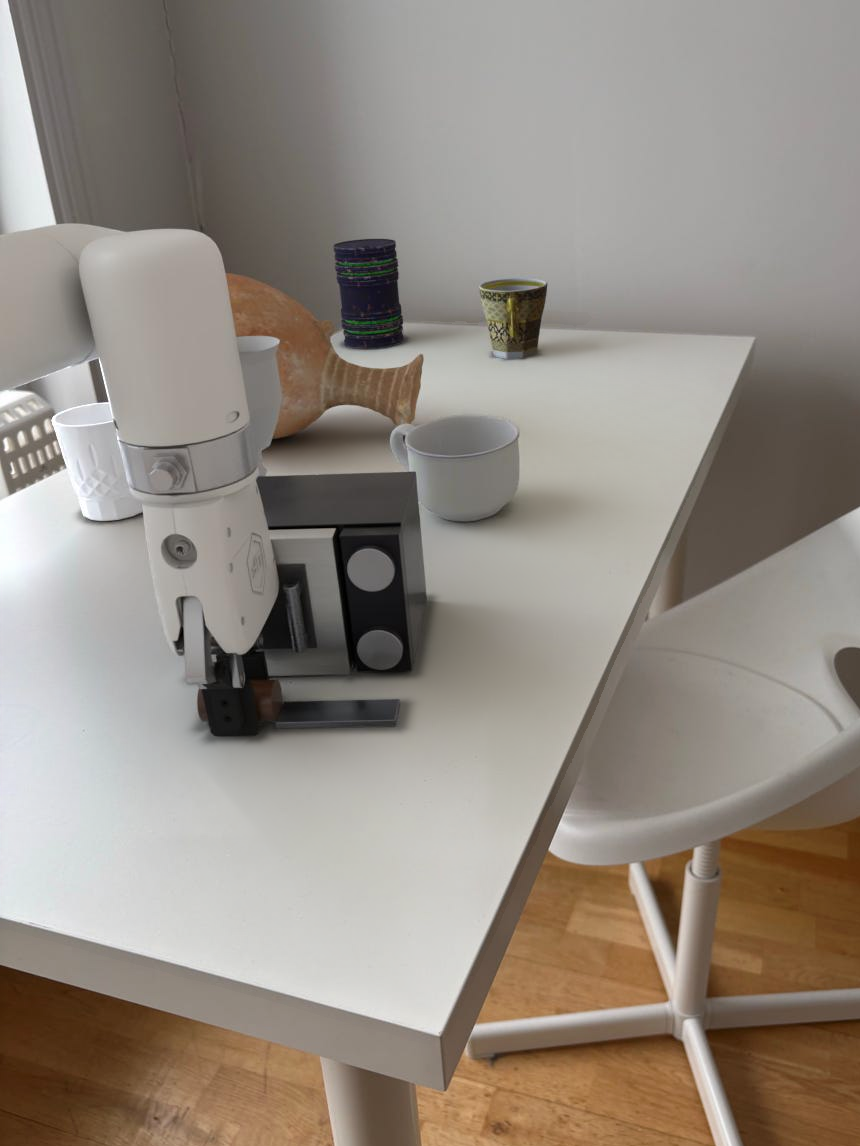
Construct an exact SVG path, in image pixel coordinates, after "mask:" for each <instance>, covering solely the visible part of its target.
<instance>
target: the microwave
mask: <svg viewBox="0 0 860 1146" xmlns="http://www.w3.org/2000/svg"><path fill="white" fill-rule="evenodd" d="M416 481H417V479H416V472H415V471H413V472H409V471H388V472H387V471H385V472H383V471H381V472H357V473H355V472H354V473H325V474H324V473H323V474H319V473H318V474H295V475H294V474H293V475H290V474H289V475H266V476H258V477H257V479H256V483H257V486H258V489H259V493H260V497H261V500H262V504H263V508H264V513H265V517H266V521H267V526H268V530H289V529H324V528H336V530H337V538H338V546H339V553H340V561H341V569H342V576H343V584H344V592H345V600H346V607H347V615H348V623H349V631H350V638H351V646H352V654H353V662H354V664H355V670H356V672H357V673H361V672H362V673H363V672H365V673H366V672H368V673H369V672H411V671H413V666H414V662H415V659H416V655H417V650H418V645H419V639H420V634H421V630H422V624H423V619H424V616H425V615H424V614H425V610H426V606H427V601H428V599H427V586H426V575H425V574H426V573H425V563H424V551H423V550H424V549H423V539H422V527H421V516H420V502H419V501H418V491H417V482H416Z"/></svg>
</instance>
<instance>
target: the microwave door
mask: <svg viewBox="0 0 860 1146" xmlns="http://www.w3.org/2000/svg"><path fill="white" fill-rule="evenodd" d="M269 535H270V539H271V544H272V549H273V553H274V558H275V563H276V568H277V573H278V578H279V591H278V595H277V598H276V600H275V603H274V605H273V607H272V609H271V612H270V614H269V616H268V618H267V620H266V622H265V624H264V626H263V628H262V630H261V631H262V636H263V647H262V649H261V650H256V652H262V651H264V653H265V658H266V664H267V669H268V675H269V677H285V676H288V677H289V676H291V677H293V676H337V675H338V676H339V675H340V676H342V675H343V676H345V675H346V676H347V675H351V673H352V670H353V667H354V664H355V663H354V662H353V654H352V646H351V638H350V631H349V623H348V615H347V607H346V600H345V592H344V584H343V576H342V569H341V561H340V553H339V546H338V538H337V530H336V528H324V529H289V530H269ZM211 639H215V638H214V637H211ZM216 655H217V654H215V655H211V658H212V661H213V662H217V660H216Z"/></svg>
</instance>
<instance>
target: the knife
mask: <svg viewBox="0 0 860 1146" xmlns="http://www.w3.org/2000/svg"><path fill="white" fill-rule="evenodd" d="M251 681H252V686H253V691H254V696H255V701H256V707H257V712H258V717H259V722H260V723H264V722H265V723H267V722H275V728H276V729H313V728H314V729H317V728H367V727H369V728H370V727H376V728H377V727H396V726H397V722H398V717H399V712H400V708H401V700H400V698H392V699H391V698H390V699H389V698H388V699H387V698H385V699H383V698H381V699H341V700H338V699H336V700H334V699H333V700H296V701H295V700H294V701H291V700H290V701H288V700H287V701H283V700H284V699H283V697H284V696H283V689H282V685H281V683H280V680H279V679H269V680H251ZM196 696H197V697H196V706H197V707H196V708H197V714H198V717H199V719H200V721H201V722H202V723H204V724H209V722H208V717H207V713H206V708H205V704H204V699H203V695H202V690H201V689H199V688H198V691H197V695H196Z"/></svg>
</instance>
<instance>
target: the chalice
mask: <svg viewBox="0 0 860 1146" xmlns="http://www.w3.org/2000/svg"><path fill="white" fill-rule="evenodd" d="M236 339H237V345H238V351H239V357H240V362H241V368H242V374H243V380H244V386H245V392H246V398H247V404H248V410H249V416H250V421H251V427H252V433H253V439H254V445H255V451H256V457H257V464H258V469H259V475H258V476H267V473H268V468H266V467H265V464H264V461H263V460H262V452H263V451H264V450H265V449H267V448H269V447H270V446H271V443H272V441H273V439H272V437H273V434H274V431H275V428H276V425H277V422H278V417H279V412H280V406H281V400H282V392H281V386H280V379H279V372H278V366H277V359H276V352H277V349H278V346H279V342H280V340H279V339H277V338H274V337H270V336H243V337H236Z"/></svg>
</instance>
